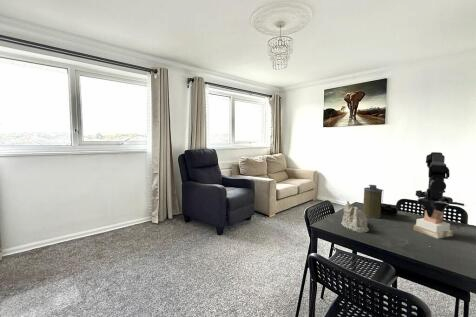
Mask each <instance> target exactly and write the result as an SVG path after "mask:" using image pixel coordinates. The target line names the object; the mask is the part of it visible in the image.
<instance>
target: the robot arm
mask: <svg viewBox="0 0 476 317" xmlns="http://www.w3.org/2000/svg"><path fill="white" fill-rule="evenodd" d="M445 157H446V156H445V155H444V154H443V152H439V151H438V152H437V151H436V152H435V151H432V152H430V153H429V154H427V155H426V158H425V164H426V166H427V168H428V188H426V191H422V190H420V189H419V190H416V191H415V194H414V195H415V196H416V197H417V202H416V203H417V204H419V205H421V210H423V216H421V217H420V219H421V218H424V216H425V210H426V211H427V215H428V217H431V216H432V214H433V212H434V210H437V211H440V212H443V213H444V211H445V209H446V208H447V207H448V206H450V204H453V203H454V202H453V201H454V199H453V198H452V197H450V196H445V195H444V194H445V193H446V189H447V184H446V182H445V180H448V179H449V178H450V174H451V173H450V168H449V166H447V164H446V163H445V160H446V159H445Z"/></svg>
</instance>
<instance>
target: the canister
mask: <svg viewBox="0 0 476 317" xmlns="http://www.w3.org/2000/svg"><path fill="white" fill-rule="evenodd" d="M383 200H384V199H383V189H381V188H377V185H376V184H369V185H368V187H364V188H363V207H362V212H363V213H364V215H365V217H366V218H372V219H373V218H374V219H378V218H381V216H382V215H380V213H381V203H382V204H383V203H384V202H383Z"/></svg>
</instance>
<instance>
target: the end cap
mask: <svg viewBox="0 0 476 317" xmlns="http://www.w3.org/2000/svg"><path fill="white" fill-rule="evenodd" d="M398 212H399V205H397V204H391V203H390V204H389V203H384V202H383V204H382V202H381V213H380V216H386V217H393V218H397V216H398Z"/></svg>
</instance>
